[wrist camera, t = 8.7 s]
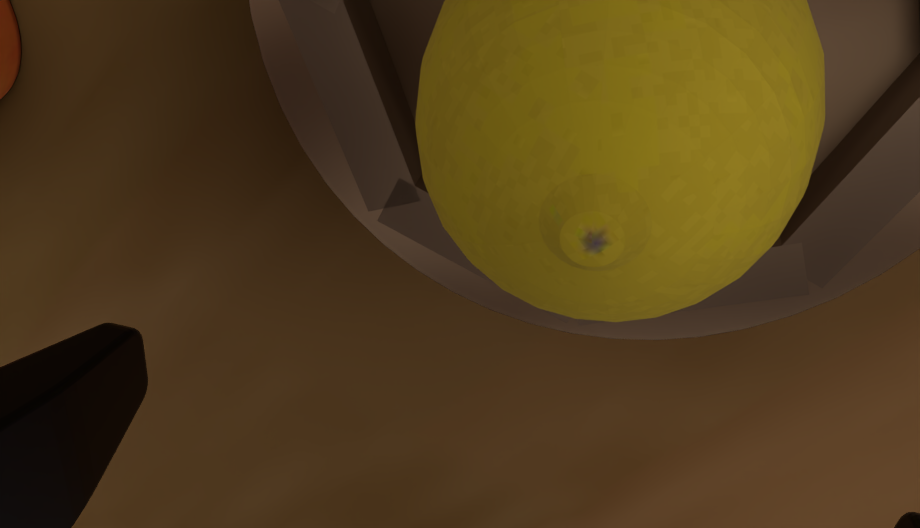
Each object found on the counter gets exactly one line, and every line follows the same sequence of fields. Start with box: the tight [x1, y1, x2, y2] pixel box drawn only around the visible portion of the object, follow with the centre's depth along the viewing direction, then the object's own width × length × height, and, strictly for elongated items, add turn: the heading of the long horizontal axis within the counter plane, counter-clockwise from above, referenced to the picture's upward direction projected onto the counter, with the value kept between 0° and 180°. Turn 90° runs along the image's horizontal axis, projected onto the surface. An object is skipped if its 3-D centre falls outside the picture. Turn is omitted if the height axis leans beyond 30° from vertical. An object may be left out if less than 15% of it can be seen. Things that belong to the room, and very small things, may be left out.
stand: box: [249, 0, 920, 340], centre depth 16 cm, size 15×15×4 cm
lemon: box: [415, 0, 825, 322], centre depth 12 cm, size 6×6×8 cm
